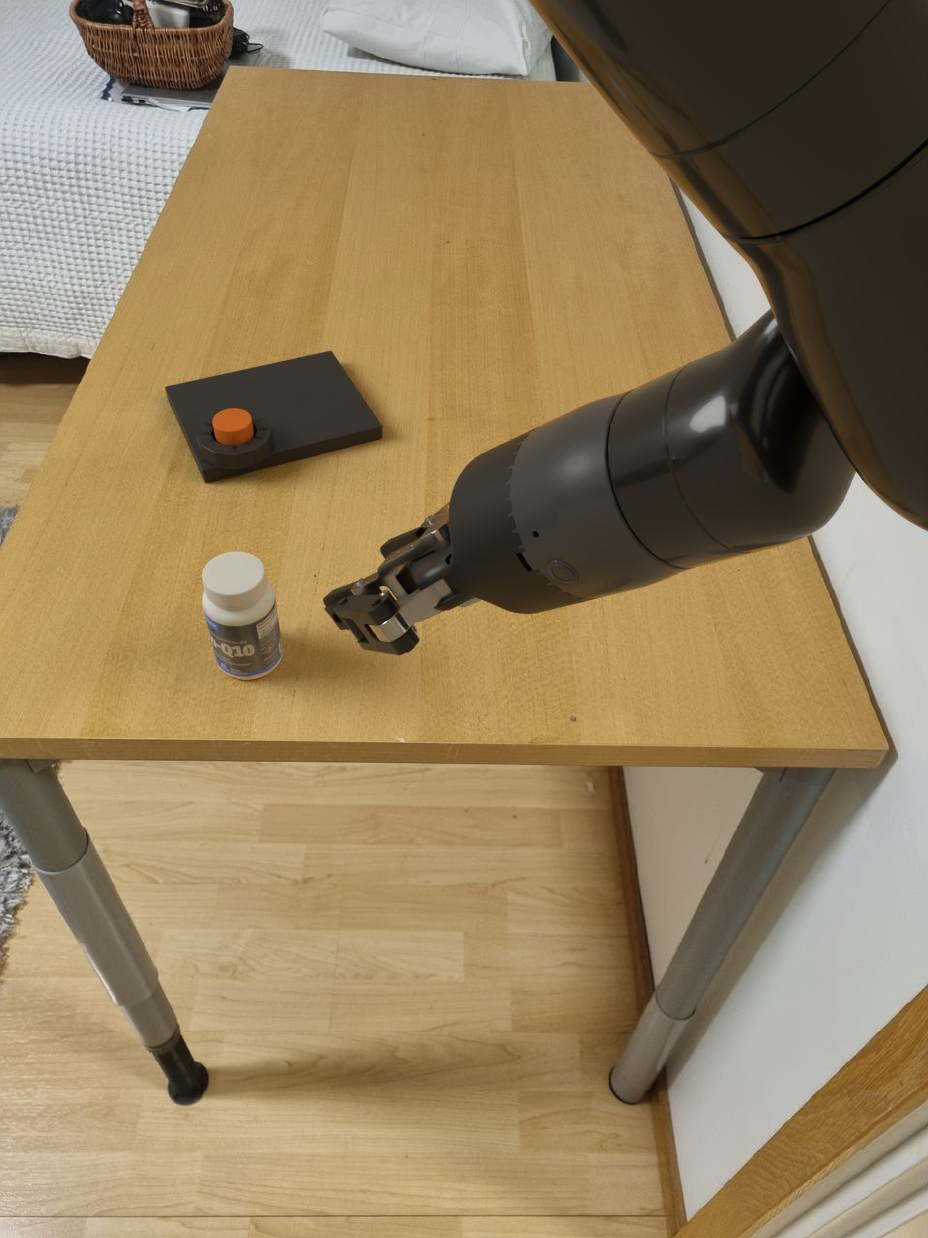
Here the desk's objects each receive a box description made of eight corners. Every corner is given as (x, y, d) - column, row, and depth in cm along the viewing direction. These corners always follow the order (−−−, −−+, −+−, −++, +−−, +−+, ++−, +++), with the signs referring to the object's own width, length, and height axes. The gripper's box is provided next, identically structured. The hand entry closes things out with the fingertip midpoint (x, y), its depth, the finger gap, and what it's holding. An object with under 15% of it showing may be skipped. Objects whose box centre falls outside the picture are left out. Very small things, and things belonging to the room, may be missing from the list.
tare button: (221, 450, 77) (218, 434, 76) (210, 428, 79) (207, 413, 77) (258, 440, 78) (256, 425, 77) (247, 419, 80) (245, 404, 78)
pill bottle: (202, 669, 65) (179, 585, 58) (238, 622, 68) (220, 538, 61) (262, 690, 64) (246, 607, 57) (296, 642, 67) (284, 558, 60)
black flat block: (208, 491, 77) (202, 462, 75) (167, 399, 86) (160, 370, 83) (387, 445, 82) (386, 417, 80) (332, 362, 91) (330, 334, 88)
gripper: (620, 351, 41) (403, 463, 54) (430, 527, 33) (230, 608, 46) (703, 491, 43) (474, 566, 56) (543, 689, 35) (320, 722, 48)
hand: (365, 585), depth 51 cm, fingers open, 4 cm apart
